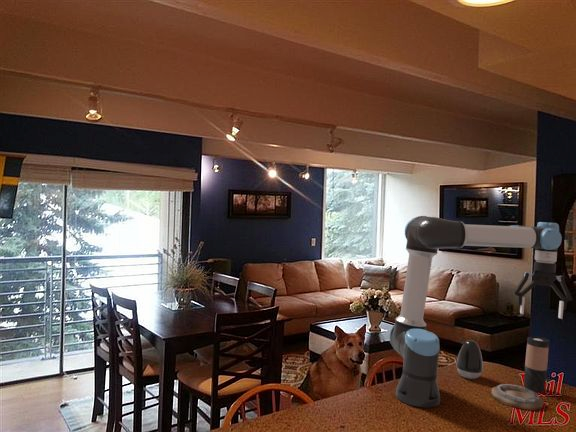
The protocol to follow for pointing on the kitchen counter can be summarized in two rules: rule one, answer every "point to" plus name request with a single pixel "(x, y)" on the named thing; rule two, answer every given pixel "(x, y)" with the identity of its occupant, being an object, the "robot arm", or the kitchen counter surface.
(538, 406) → the carrier plate
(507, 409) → the kitchen counter surface
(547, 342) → the travel mug
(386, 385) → the kitchen counter surface
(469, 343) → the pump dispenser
